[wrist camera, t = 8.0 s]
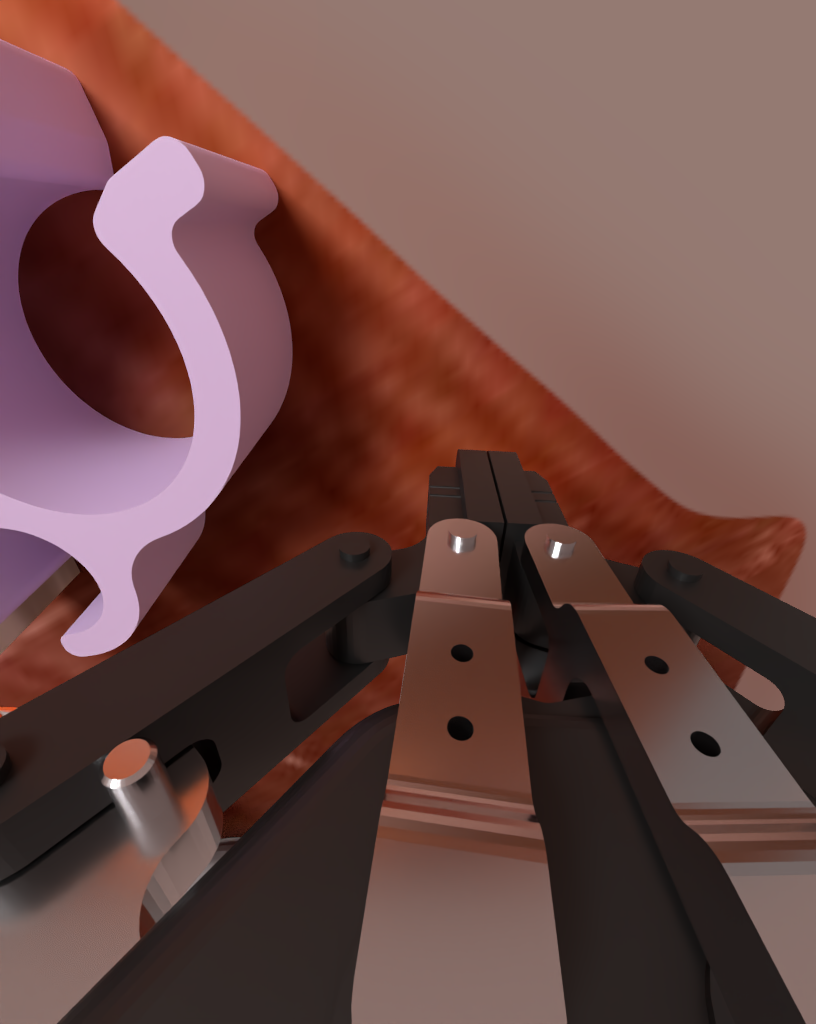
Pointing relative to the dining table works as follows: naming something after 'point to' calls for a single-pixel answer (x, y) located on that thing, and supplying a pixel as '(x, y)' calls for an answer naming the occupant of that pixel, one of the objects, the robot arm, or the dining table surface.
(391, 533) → the dining table surface
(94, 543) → the clip
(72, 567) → the board
